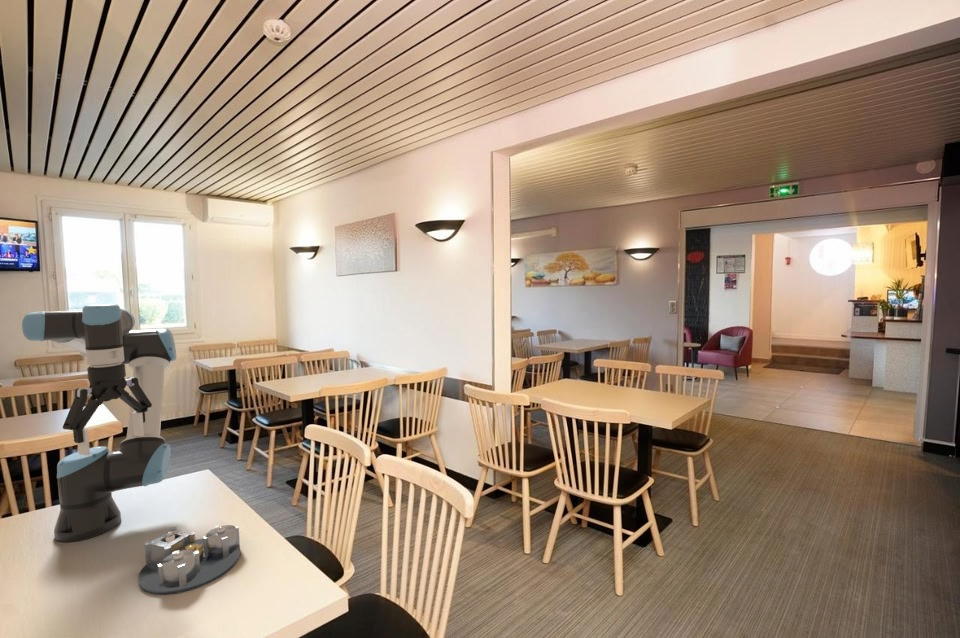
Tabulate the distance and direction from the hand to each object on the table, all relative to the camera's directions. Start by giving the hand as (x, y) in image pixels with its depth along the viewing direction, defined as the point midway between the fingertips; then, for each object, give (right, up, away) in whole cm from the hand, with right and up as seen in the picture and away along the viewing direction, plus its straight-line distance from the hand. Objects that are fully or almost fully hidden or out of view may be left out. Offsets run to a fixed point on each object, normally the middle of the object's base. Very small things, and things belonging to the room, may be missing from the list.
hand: (113, 444), depth 119 cm
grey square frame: (+15, -29, 0) cm, 33 cm away
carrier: (+22, -31, -2) cm, 38 cm away
